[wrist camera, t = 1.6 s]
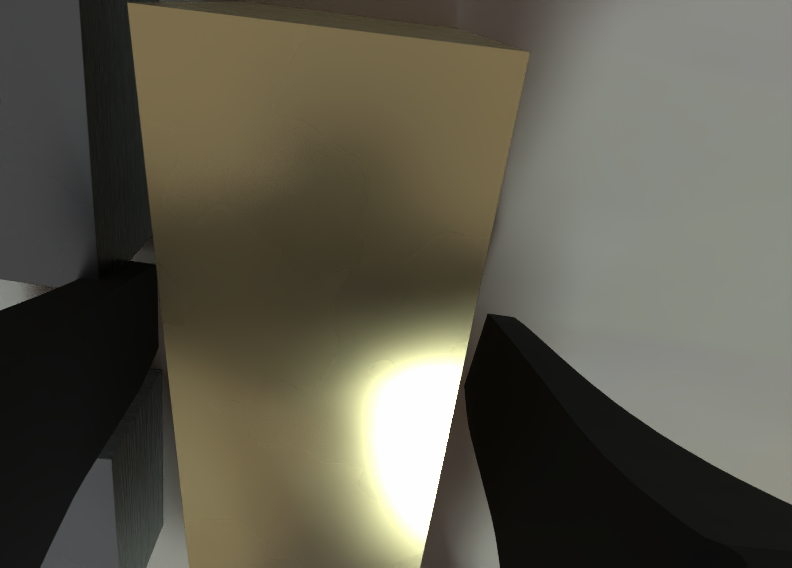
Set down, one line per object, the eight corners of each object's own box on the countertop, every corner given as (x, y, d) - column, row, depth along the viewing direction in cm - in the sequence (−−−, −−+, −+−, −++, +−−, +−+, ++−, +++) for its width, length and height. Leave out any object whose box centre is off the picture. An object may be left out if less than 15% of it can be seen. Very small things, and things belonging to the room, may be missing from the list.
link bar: (389, 468, 16) (397, 674, 11) (253, 461, 16) (200, 671, 11) (455, 27, 10) (529, 52, 5) (246, 1, 10) (126, 2, 5)
